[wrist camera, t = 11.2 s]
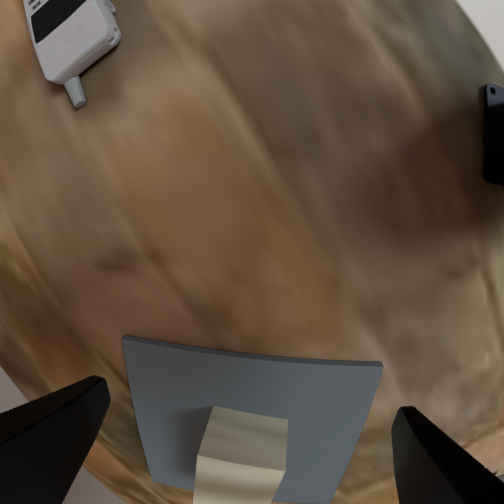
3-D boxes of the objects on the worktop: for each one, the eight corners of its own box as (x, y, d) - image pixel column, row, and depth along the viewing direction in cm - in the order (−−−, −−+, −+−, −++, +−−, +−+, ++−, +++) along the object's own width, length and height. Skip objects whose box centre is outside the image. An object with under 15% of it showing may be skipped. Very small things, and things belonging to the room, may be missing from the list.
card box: (267, 476, 24) (261, 520, 19) (205, 465, 24) (192, 508, 19) (288, 419, 21) (285, 471, 17) (213, 405, 22) (197, 455, 17)
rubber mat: (381, 361, 20) (383, 366, 19) (329, 498, 25) (329, 503, 24) (125, 334, 22) (121, 338, 21) (154, 477, 26) (152, 481, 26)
